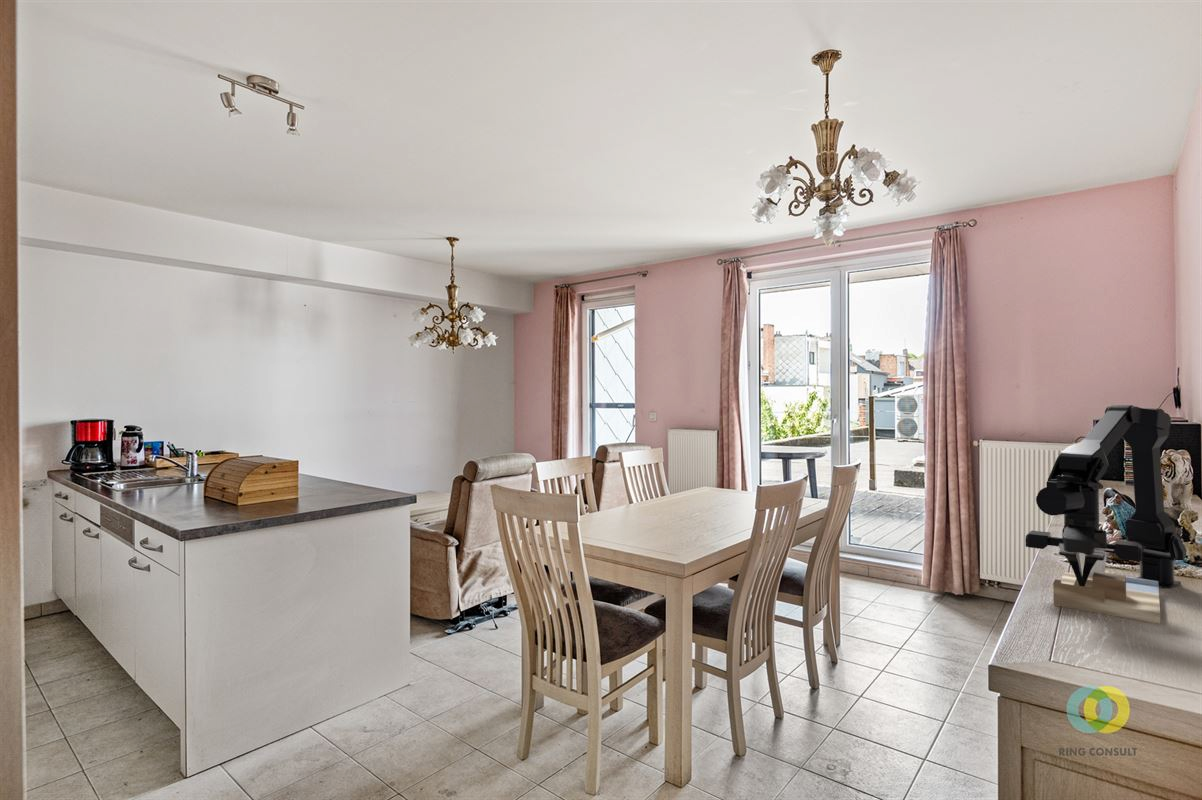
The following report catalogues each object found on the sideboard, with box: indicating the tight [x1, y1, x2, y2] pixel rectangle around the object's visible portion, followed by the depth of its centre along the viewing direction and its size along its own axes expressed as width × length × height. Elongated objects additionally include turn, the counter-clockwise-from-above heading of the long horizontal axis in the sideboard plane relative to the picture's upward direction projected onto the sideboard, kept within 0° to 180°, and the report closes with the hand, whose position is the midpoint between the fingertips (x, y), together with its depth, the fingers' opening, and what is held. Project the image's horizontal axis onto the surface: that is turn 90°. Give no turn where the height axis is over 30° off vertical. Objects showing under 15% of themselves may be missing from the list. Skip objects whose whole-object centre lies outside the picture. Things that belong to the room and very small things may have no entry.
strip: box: [1126, 576, 1160, 595], centre depth 129 cm, size 8×6×3 cm
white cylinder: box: [1071, 552, 1108, 576], centre depth 141 cm, size 7×7×7 cm
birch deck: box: [1052, 571, 1161, 625], centre depth 127 cm, size 22×16×4 cm
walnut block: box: [1092, 571, 1127, 601], centre depth 123 cm, size 5×5×4 cm
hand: (1082, 586), depth 126 cm, fingers closed
